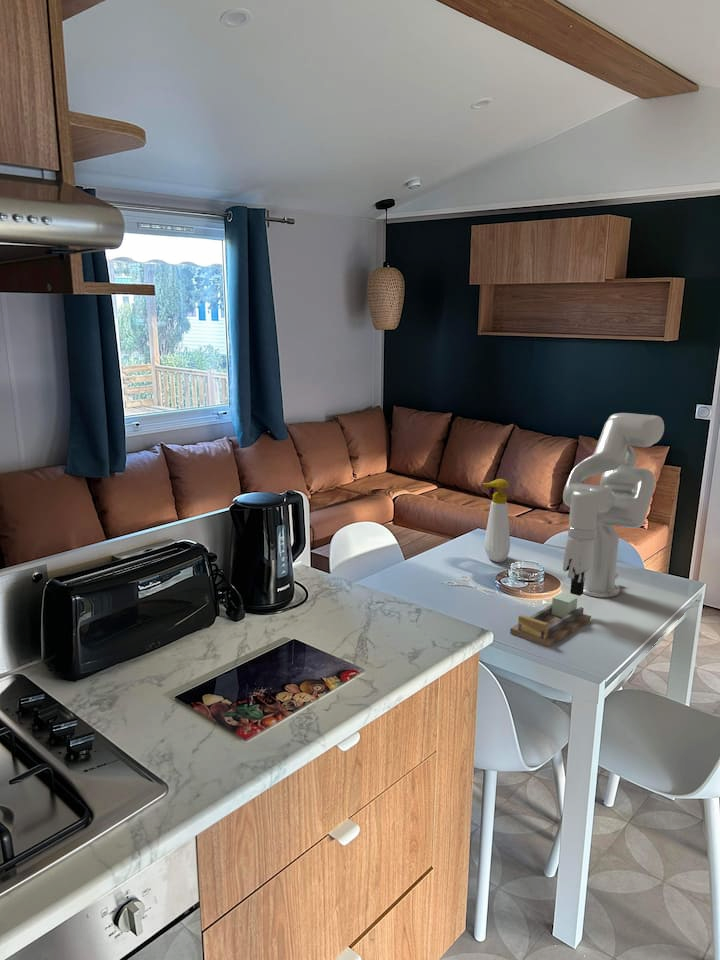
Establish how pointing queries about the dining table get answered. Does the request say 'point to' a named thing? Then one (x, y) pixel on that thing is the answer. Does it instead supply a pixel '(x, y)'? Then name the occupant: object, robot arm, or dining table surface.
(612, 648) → the dining table surface
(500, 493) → the spray bottle
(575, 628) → the track
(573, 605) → the pale green cube
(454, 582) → the scissors
